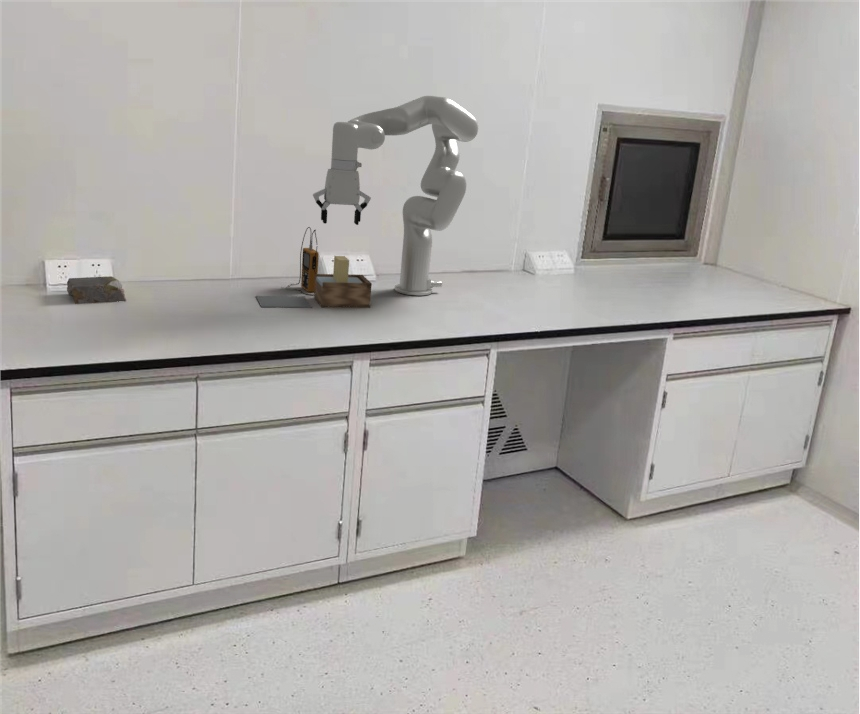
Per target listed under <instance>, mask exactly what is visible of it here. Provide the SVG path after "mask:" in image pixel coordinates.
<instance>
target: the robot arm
mask: <svg viewBox="0 0 860 714" xmlns="http://www.w3.org/2000/svg"><path fill="white" fill-rule="evenodd" d="M428 125H431V129H432V133H433V136H434V142H435V143H434V144H435V149H434V153H433V155H432V157H431V159H430V162H429V163H428V165H427V168H425V169H426V170H425V171H424V174H423V175H422V178H421V181H420V188H421V191H422V192H423V193H424V194H425V195H428V196H430V197H435V199H434V198H430V197H426V196H423V195H414V196H411V197H409V198H407V199H406V201H405V202H404V203H403V205H402V206H403V207H402V221H403V238H402V239H403V240H402V252H401V263H400V275H399V276H400V277H399V283H398V284H396V285H395V286H394V291H395V292H397V293H400V294H402V295H408V296H418V297H419V296H420V297H421V296H428V295H431V294H432V293H433V289H432V288H442V286H443V283H442V281H438V280H432V279H430V278H429V276H430V265H431V257H432V247H433V235H432V232H431V230H433V231H435V232H436V231H437V232H441V231H444V230H446V229H447V228H448V227H449V226H450V225H451V223H452V221H453V220H454V218H455V216H456V213H457V211H458V209H459V207H460V206H461V203H462V201H463V199H464V197H465V195H466V191H467V180H466V177H465V175H464V174H463V173H461V172H459V171H457V170H456V169H457V166H458V165H459V161H460V154H461V153H460V149H459V144H458V142H462V143H468V142H470V141H473V140H475V138H476V137H477V135H478V132H479V125H478V120H477V119H476V118H475V117H474V115H472V114H471V112H469V111H467V110H466V109H465V108H464V107H462V106H460V105H459V104H458V103H456V102H455V101H454V100H452V99H451V98H448V97H444V96H436V95H435V96H434V95H424V96H420V97H418V98H415V99H413V100H410V101H408V102H405V103H403V104H400V105H398V106H395V107H391V108H390V107H389V108H385V109H383V110H377V111H372V112H368V113H364V114H362V115H359V116H357V117H354V118H352V119H349V120H348V121H347V122H346V121H337V122H335V123H334V124H333V126H332V139H331V140H332V141H331V159H330V161H331V162H330V168H327V172H326V177H325V184H324V188H323V189H321V190H318V191H316V192H314V193H313V194H312V196H313V198H314V201H315V204H316V205H318V207H319V208H320V210H321V211H320V220H321V221H322V223H323V224H327V223H328V210H327V208H328V207H329V206H330V205H339V206H340V205H345V206H347V205H348V206H354V207H355V210H354V218H353V219H354V221H353V223H354V224H355V225H356V226H358V225H359V222H361V218H362V217H361V215H362V212H363V210H364V209H365V208H367V206H368V204H369V203H370V201H371V200H372V197H370V196H369V195H368V194H366V193H364V192H362V190H361V189H360V187H361V184H360V172H359V171H358V169H359V168H362V165H363V164H362V162H359V160H358V153H359V152H358V150H359V148H361V149H364V150H371V151H372V150H377V149H379V148H380V147H382V145H383V144H384V142H385V139H386V136H392V137H393V136H404V135H406V134H409V133H413V131H416V130H418V129H420V128H424V127H425V126H428ZM321 196H323V199H324V201H323V202H322V201H321V200H320V197H321ZM360 197H361V198H363V202H362V203H360V200H361V199H360ZM359 203H360V204H359Z"/></svg>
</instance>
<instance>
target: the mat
mask: <svg viewBox="0 0 860 714" xmlns="http://www.w3.org/2000/svg"><path fill="white" fill-rule="evenodd" d="M255 298H256V300H257V299H258V300H257V302H258V301H259V302H258V304H259V303H260V304H259V306H260V305H261V306H260V307H261V308H276V307H282V308H283V307H284V309H287V308H291V309H292V308H293V309H294V308H297V309H298V308H299V309H301V308H302V309H304V308H311V309H312V308H313V306H312V305H311V303H310V302H309V300H308V299H307V298H306V296H302V295H301V296H298V295H297V296H295V295H294V296H293V295H288V296H287V295H256V296H255Z"/></svg>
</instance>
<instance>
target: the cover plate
mask: <svg viewBox="0 0 860 714" xmlns="http://www.w3.org/2000/svg"><path fill="white" fill-rule="evenodd" d="M333 257H334V258H333V273H332V274H333V277H316V280H317V281H318V282H319V284H320V285H321V286H322V285H323V282H338V283H363V282H362V281H361V280H360V279H358V278H357V277H348V275H349V271H350V269H349V268H350V259H348V258H347V257H346V256H345V255H334V256H333Z"/></svg>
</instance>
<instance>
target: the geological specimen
mask: <svg viewBox="0 0 860 714" xmlns="http://www.w3.org/2000/svg"><path fill="white" fill-rule="evenodd" d="M66 284H67V287H66V291H67V293H68V295H69V296H72V297H73V300H74V303H75V304H76V305H80V304H96V303H97V304H98V303H100V304H101V303H120V302H119V301H124V302H127V299H126V296H125V290H124V288H123V284H122V283H121V282H120V280H119V279H117V278H116V277H114V276H91V277H90V276H89V277H88V276H87V277H71V278H68V281H67V282H66ZM117 301H118V302H117Z"/></svg>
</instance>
